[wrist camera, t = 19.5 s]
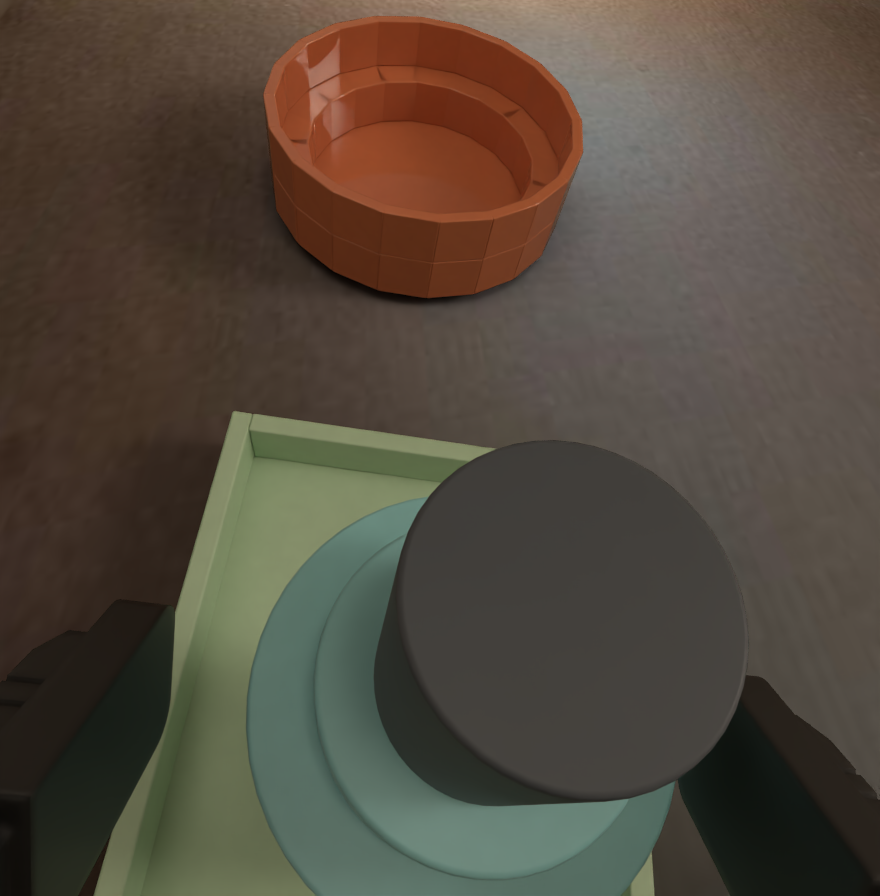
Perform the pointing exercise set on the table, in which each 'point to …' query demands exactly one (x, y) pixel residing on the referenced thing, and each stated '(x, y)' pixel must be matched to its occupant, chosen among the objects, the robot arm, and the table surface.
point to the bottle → (496, 681)
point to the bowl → (419, 153)
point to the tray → (252, 647)
